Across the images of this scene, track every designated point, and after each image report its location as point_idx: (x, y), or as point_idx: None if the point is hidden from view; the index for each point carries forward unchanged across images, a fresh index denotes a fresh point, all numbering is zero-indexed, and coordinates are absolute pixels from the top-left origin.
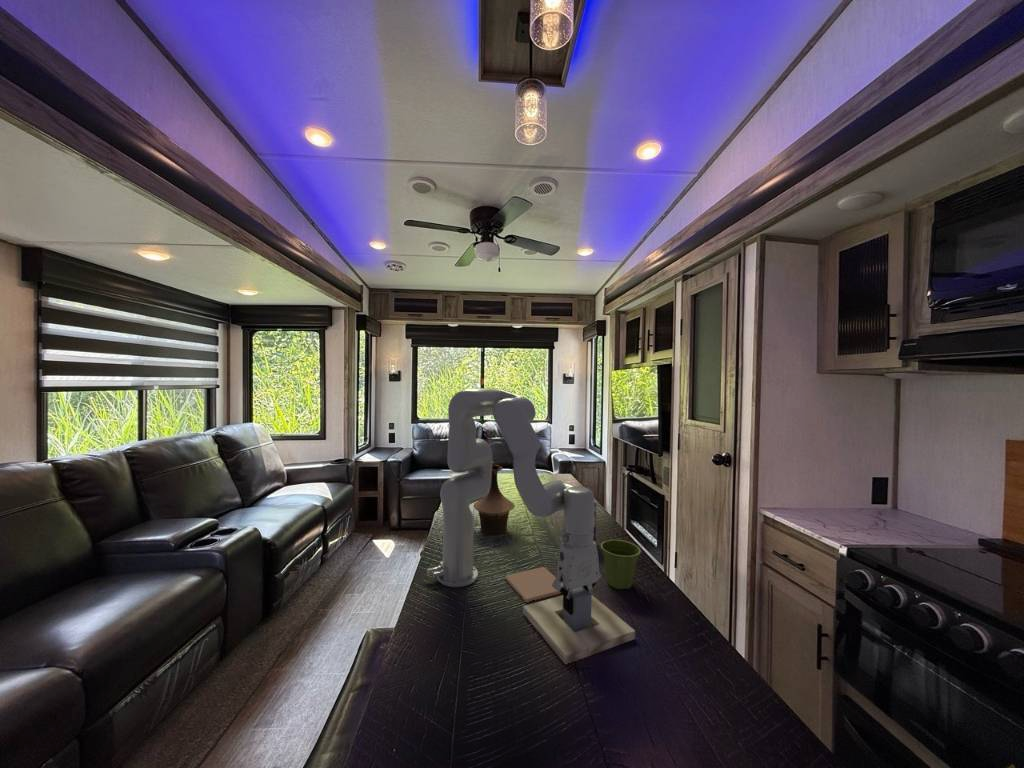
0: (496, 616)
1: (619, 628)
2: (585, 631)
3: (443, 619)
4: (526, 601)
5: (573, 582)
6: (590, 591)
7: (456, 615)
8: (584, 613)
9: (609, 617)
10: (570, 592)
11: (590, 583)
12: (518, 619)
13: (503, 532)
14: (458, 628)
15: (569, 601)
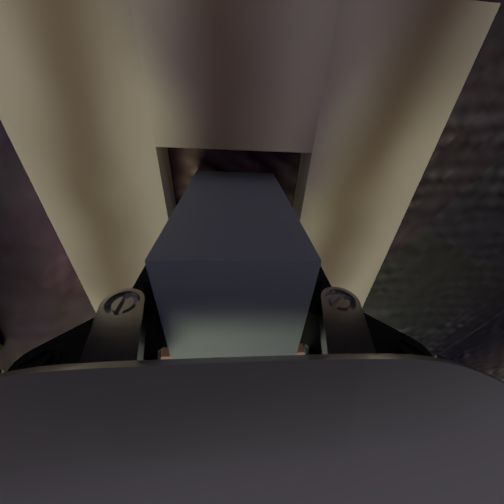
0: (401, 327)
1: (46, 48)
2: (261, 133)
3: (489, 349)
4: (301, 346)
5: (494, 469)
6: (127, 299)
7: (460, 351)
8: (231, 200)
9: (74, 168)
10: (342, 326)
11: (106, 372)
12: (368, 303)
13: None
14: (498, 321)
15: None
